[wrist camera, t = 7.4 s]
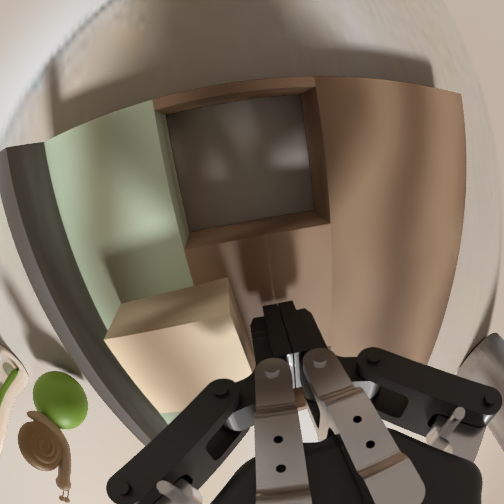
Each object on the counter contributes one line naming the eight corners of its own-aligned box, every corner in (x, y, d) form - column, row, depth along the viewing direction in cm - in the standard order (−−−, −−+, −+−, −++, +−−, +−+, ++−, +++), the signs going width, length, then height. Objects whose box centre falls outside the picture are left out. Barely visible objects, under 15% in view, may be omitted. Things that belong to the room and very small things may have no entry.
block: (227, 277, 13) (229, 313, 10) (255, 359, 16) (262, 398, 13) (121, 303, 13) (103, 339, 10) (165, 376, 16) (160, 413, 13)
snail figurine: (75, 404, 20) (48, 496, 9) (36, 361, 18) (-9, 457, 7) (111, 402, 20) (87, 509, 9) (69, 355, 17) (21, 473, 6)
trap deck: (435, 95, 12) (496, 94, 7) (413, 349, 21) (442, 388, 16) (55, 145, 12) (-7, 156, 6) (162, 405, 20) (156, 456, 15)
